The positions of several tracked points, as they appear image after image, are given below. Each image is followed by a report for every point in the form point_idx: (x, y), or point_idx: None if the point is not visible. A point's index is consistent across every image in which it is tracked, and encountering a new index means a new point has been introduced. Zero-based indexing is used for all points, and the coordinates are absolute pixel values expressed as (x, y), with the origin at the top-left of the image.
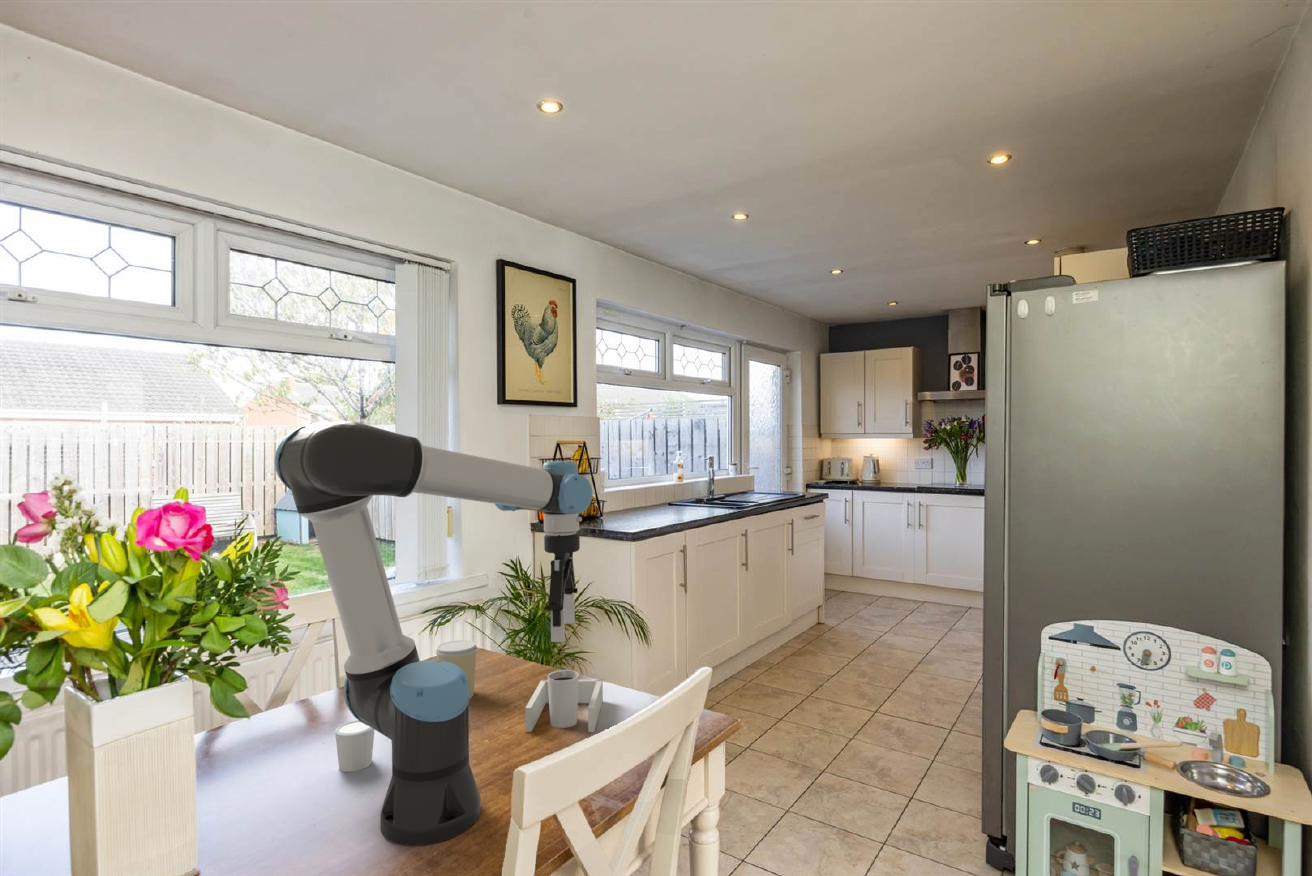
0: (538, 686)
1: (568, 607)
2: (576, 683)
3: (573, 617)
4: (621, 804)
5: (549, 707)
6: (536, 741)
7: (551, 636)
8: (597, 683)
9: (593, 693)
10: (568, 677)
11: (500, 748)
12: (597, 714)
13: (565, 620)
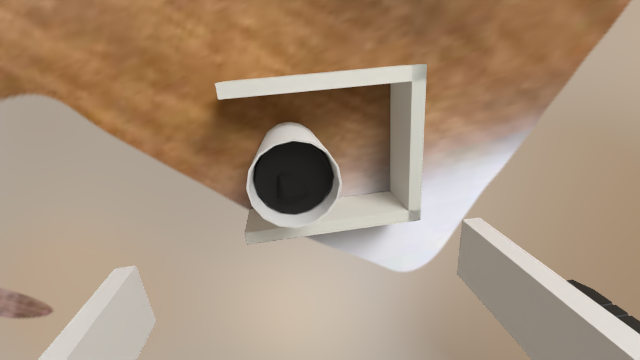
0: (373, 71)
1: (524, 315)
2: (282, 217)
3: (477, 292)
4: (7, 317)
5: (275, 130)
6: (186, 120)
7: (97, 292)
8: (394, 215)
9: (331, 222)
10: (333, 182)
11: (130, 47)
12: None
13: (471, 245)
